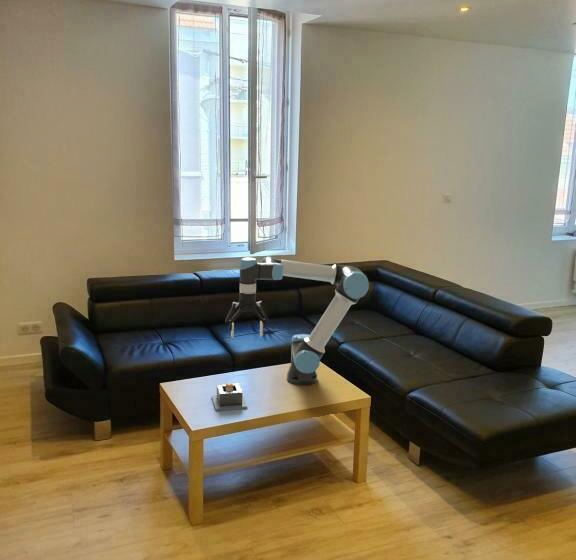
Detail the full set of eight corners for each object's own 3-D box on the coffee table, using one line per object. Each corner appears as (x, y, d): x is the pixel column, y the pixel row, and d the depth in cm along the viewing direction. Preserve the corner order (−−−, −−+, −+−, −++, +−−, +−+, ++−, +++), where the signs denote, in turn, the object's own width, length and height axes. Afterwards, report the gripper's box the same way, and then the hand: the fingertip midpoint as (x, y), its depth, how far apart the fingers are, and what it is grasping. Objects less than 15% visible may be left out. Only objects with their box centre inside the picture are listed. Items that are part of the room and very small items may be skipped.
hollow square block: (238, 395, 265) (238, 383, 264) (242, 404, 256) (242, 392, 254) (216, 397, 263) (216, 384, 261) (219, 406, 253) (219, 393, 252)
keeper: (241, 395, 268) (242, 377, 266) (247, 408, 255) (247, 389, 253) (211, 397, 264) (211, 379, 262) (215, 411, 251) (215, 391, 249)
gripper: (272, 289, 270) (271, 332, 275) (219, 290, 264) (218, 334, 269) (276, 293, 263) (274, 337, 268) (221, 294, 257) (221, 340, 262)
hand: (246, 336), depth 268 cm, fingers open, 13 cm apart
